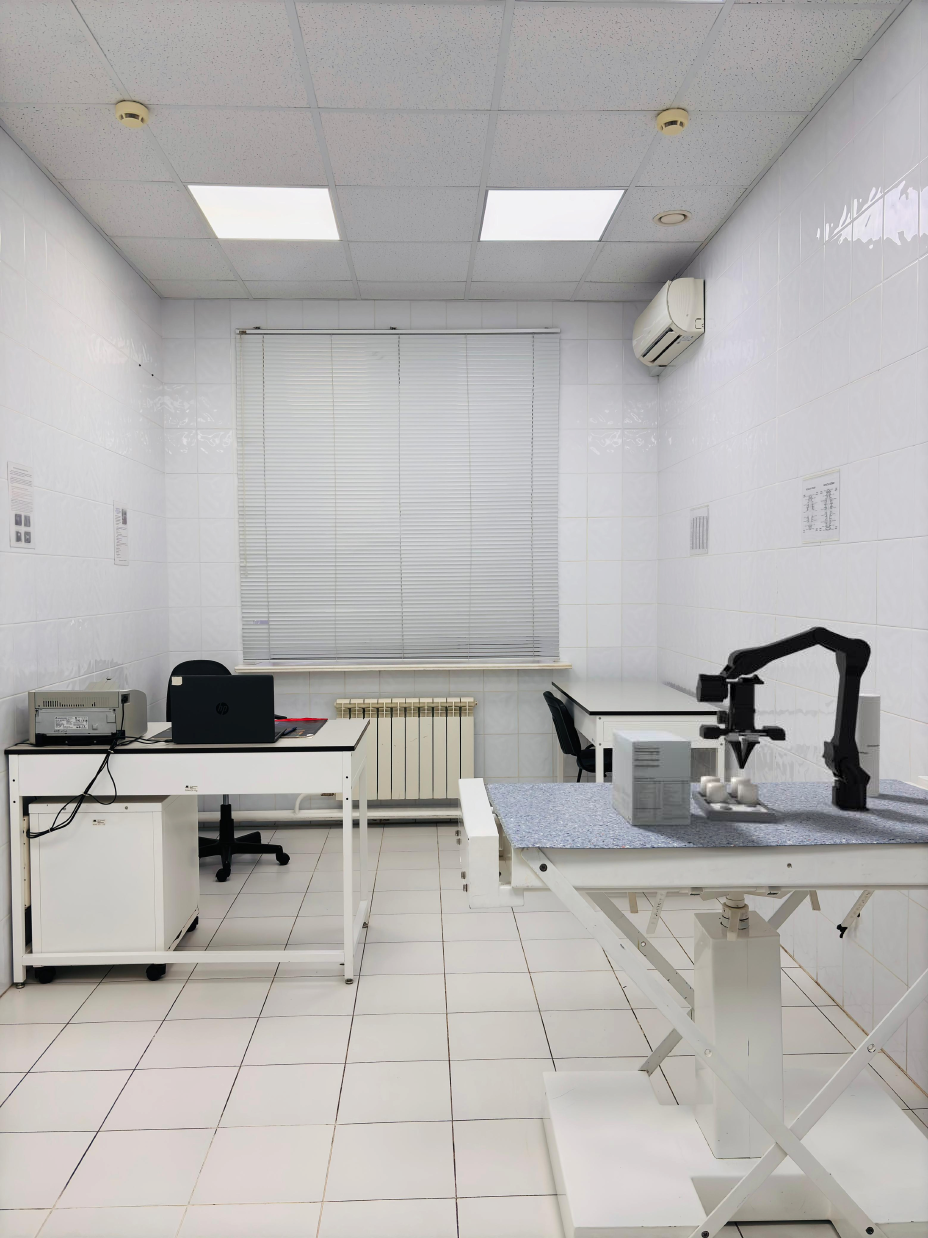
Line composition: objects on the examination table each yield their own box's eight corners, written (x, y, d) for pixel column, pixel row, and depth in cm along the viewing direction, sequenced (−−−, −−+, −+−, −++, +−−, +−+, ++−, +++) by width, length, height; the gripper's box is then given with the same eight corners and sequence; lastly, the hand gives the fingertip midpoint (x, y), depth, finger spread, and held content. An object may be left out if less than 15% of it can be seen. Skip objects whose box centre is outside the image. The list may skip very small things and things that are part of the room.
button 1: (717, 793, 194) (717, 776, 194) (721, 797, 190) (721, 780, 190) (698, 792, 195) (699, 776, 195) (702, 796, 190) (702, 779, 190)
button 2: (724, 799, 187) (724, 782, 187) (728, 804, 183) (728, 786, 183) (704, 799, 188) (705, 782, 188) (708, 803, 183) (708, 786, 183)
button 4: (755, 800, 187) (755, 783, 187) (760, 805, 182) (760, 787, 182) (735, 800, 187) (736, 783, 187) (740, 804, 183) (740, 787, 183)
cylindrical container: (884, 797, 201) (886, 696, 200) (855, 796, 201) (857, 696, 200) (870, 790, 208) (871, 693, 208) (842, 790, 208) (843, 693, 208)
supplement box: (692, 826, 172) (693, 741, 171) (630, 826, 171) (631, 741, 171) (666, 806, 189) (667, 729, 189) (610, 807, 188) (611, 729, 188)
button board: (751, 800, 195) (751, 790, 195) (775, 822, 175) (775, 811, 175) (691, 798, 197) (692, 789, 197) (708, 820, 177) (709, 809, 177)
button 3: (747, 794, 194) (747, 777, 193) (752, 798, 189) (752, 781, 189) (728, 793, 194) (729, 776, 194) (733, 797, 190) (733, 780, 190)
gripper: (772, 700, 198) (772, 763, 199) (695, 698, 200) (694, 761, 200) (786, 705, 187) (786, 772, 188) (704, 704, 189) (703, 770, 189)
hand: (741, 769), depth 191 cm, fingers closed
